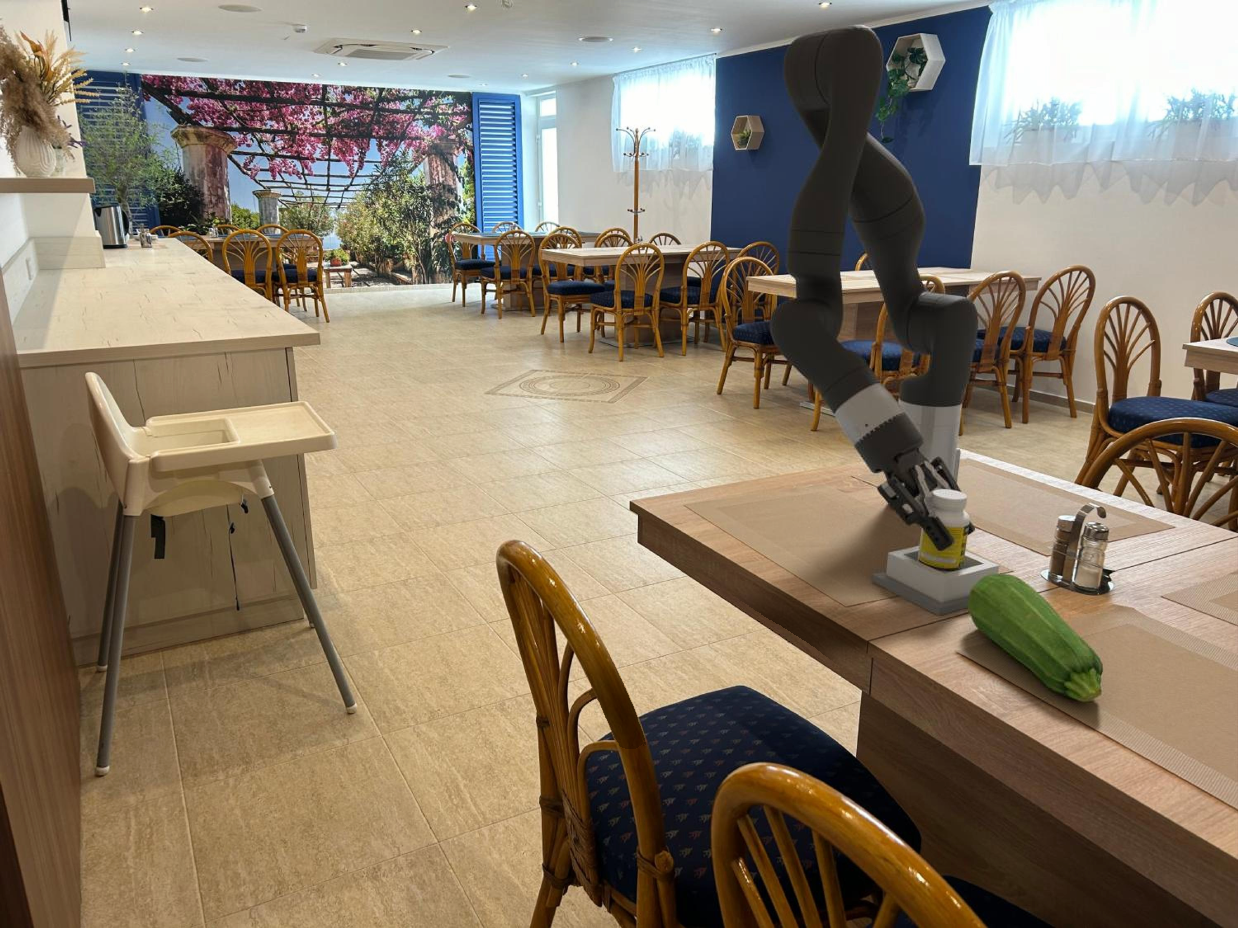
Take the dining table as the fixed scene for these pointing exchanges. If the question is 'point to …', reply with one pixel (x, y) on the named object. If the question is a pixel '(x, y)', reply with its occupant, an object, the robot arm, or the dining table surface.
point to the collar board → (932, 580)
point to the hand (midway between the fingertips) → (958, 540)
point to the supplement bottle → (957, 524)
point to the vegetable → (1035, 635)
